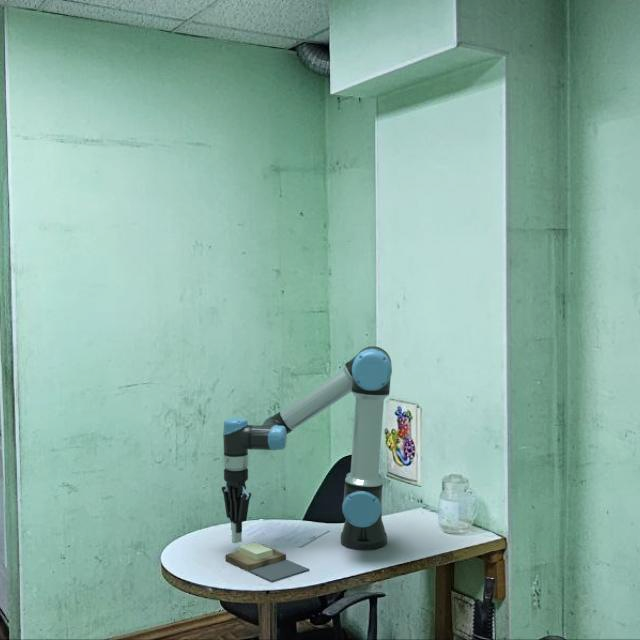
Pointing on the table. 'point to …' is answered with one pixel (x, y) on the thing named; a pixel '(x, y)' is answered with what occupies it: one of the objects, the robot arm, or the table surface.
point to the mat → (279, 570)
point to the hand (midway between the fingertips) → (236, 541)
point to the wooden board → (252, 564)
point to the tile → (255, 551)
